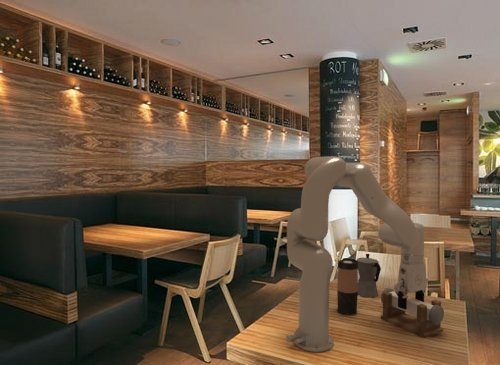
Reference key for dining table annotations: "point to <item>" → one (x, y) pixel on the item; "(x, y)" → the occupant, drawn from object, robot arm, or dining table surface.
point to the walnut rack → (410, 317)
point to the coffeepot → (368, 276)
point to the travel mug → (347, 286)
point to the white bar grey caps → (433, 311)
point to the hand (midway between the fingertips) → (410, 305)
